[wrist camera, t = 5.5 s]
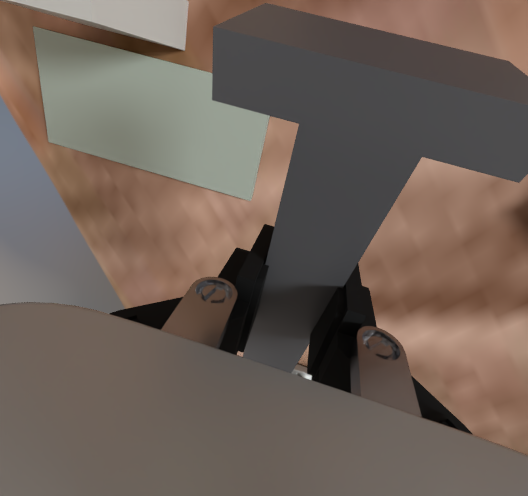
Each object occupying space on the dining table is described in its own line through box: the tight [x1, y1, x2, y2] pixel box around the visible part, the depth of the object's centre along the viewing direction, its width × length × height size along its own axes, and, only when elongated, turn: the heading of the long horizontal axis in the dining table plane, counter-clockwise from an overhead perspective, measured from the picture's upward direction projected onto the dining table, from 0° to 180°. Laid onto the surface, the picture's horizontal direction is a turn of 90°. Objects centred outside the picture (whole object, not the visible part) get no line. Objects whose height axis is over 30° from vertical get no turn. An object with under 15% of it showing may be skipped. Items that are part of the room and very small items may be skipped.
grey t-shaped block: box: [212, 3, 528, 373], centre depth 11 cm, size 15×6×4 cm, turn 167°
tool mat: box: [33, 26, 270, 201], centre depth 25 cm, size 9×20×1 cm, turn 77°
